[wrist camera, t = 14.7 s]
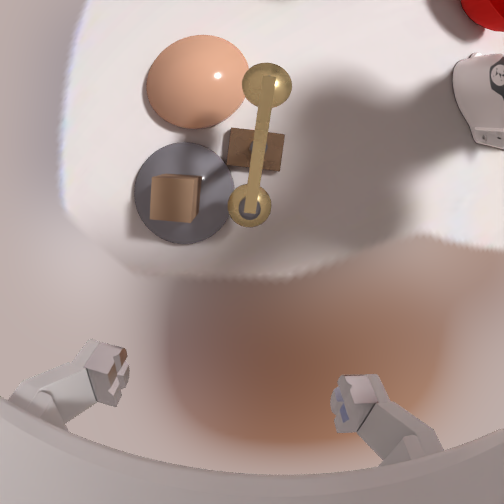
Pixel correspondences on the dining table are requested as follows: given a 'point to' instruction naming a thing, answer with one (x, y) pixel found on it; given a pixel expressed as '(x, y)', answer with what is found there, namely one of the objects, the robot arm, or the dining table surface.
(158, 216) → the walnut block
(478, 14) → the ceramic cup
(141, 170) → the charcoal dish
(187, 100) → the terracotta dish
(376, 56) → the dining table surface
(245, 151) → the balance
